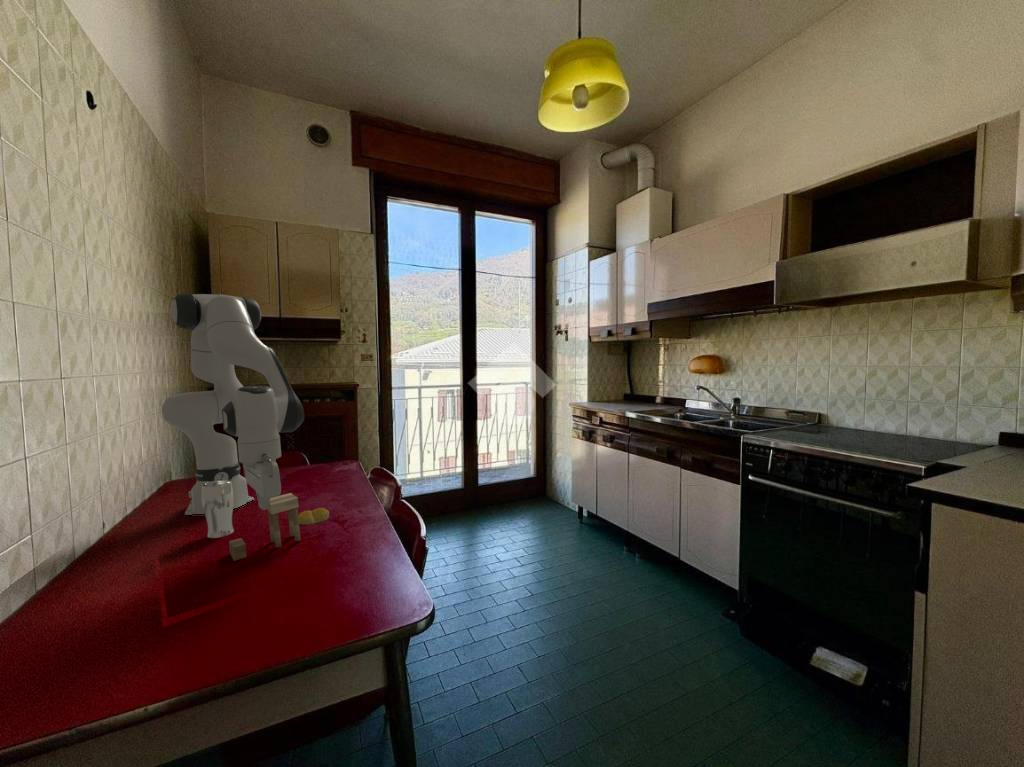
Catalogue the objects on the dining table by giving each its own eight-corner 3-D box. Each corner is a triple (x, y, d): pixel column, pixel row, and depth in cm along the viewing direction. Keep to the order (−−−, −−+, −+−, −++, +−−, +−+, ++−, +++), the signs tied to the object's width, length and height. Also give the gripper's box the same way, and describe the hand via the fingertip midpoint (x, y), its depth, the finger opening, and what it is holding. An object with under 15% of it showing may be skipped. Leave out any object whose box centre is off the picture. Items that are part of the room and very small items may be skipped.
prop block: (230, 554, 99) (229, 541, 98) (242, 550, 100) (241, 537, 100) (233, 561, 95) (232, 547, 95) (246, 557, 97) (245, 543, 97)
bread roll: (296, 521, 122) (295, 508, 122) (329, 516, 125) (328, 503, 125) (294, 531, 114) (293, 517, 114) (330, 525, 118) (329, 511, 118)
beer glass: (242, 532, 115) (238, 478, 114) (222, 542, 108) (218, 486, 107) (219, 532, 116) (215, 479, 115) (198, 542, 109) (193, 486, 108)
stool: (269, 541, 105) (264, 499, 104) (295, 533, 109) (290, 492, 108) (275, 548, 100) (270, 504, 100) (302, 540, 104) (297, 497, 104)
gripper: (286, 455, 95) (290, 514, 96) (265, 445, 110) (269, 496, 111) (254, 460, 91) (259, 522, 91) (237, 449, 106) (241, 502, 106)
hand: (264, 508), depth 101 cm, fingers closed, pressing on stool
